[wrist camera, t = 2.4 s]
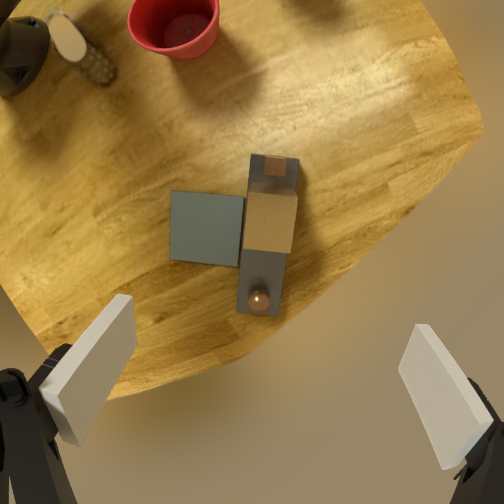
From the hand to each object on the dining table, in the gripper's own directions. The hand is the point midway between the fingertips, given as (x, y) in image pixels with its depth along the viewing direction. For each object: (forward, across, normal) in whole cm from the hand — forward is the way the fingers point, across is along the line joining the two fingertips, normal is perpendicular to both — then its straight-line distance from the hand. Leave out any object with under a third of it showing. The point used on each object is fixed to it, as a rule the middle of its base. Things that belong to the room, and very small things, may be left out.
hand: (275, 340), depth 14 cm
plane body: (+31, 0, -4) cm, 31 cm away
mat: (+31, -9, -4) cm, 32 cm away
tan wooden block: (+28, 0, 0) cm, 28 cm away
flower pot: (+31, -13, +23) cm, 41 cm away
